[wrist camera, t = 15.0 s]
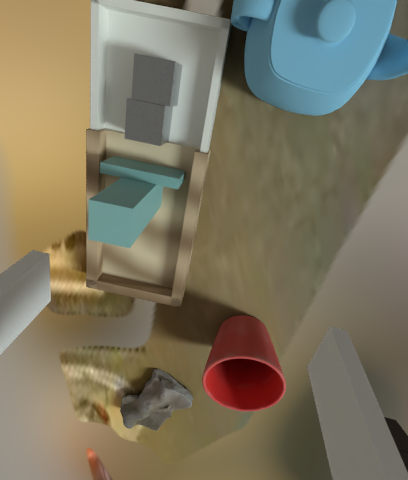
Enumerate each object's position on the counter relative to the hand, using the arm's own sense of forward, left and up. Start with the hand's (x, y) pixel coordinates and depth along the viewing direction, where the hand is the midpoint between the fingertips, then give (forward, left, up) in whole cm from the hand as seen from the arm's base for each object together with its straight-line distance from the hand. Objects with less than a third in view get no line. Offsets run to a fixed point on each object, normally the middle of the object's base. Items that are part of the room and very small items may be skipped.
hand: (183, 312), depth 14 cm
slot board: (+8, -9, -26) cm, 28 cm away
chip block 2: (-5, -9, -26) cm, 27 cm away
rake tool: (+3, -9, -25) cm, 26 cm away
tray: (-9, -9, -26) cm, 29 cm away
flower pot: (+24, +9, -26) cm, 36 cm away
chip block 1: (-9, -8, -26) cm, 28 cm away
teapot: (-15, +7, -26) cm, 31 cm away
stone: (+44, -3, -27) cm, 51 cm away
